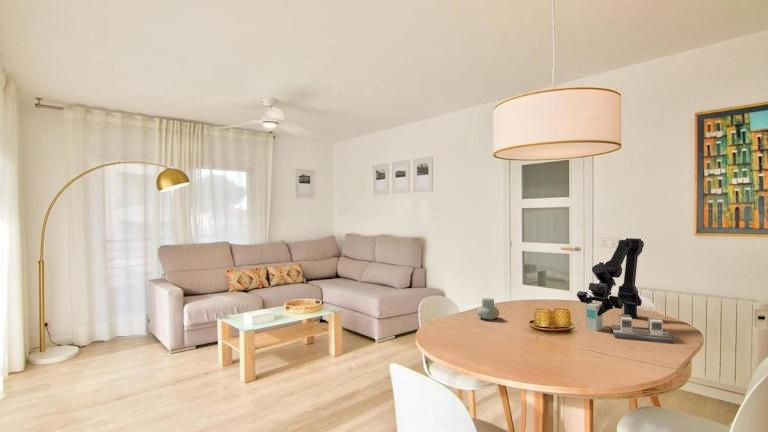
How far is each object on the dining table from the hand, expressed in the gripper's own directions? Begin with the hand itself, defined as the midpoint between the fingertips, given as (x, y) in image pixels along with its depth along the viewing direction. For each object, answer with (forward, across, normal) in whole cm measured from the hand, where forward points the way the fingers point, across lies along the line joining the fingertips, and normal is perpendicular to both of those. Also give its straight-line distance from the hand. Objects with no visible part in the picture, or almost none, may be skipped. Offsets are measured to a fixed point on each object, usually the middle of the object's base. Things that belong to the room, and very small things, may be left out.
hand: (592, 314), depth 178 cm
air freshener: (+20, -42, -10) cm, 48 cm away
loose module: (+4, 0, +6) cm, 7 cm away
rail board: (0, +17, +9) cm, 19 cm away
